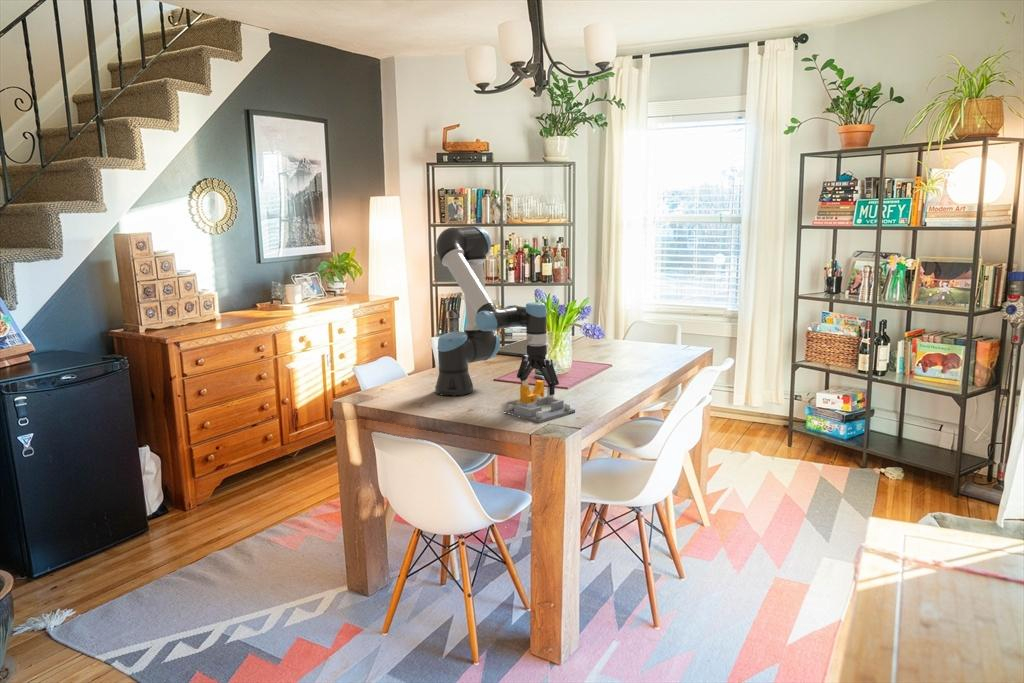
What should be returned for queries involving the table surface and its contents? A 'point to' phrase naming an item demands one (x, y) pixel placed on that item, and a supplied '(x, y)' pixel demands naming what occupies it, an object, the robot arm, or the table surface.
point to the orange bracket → (537, 392)
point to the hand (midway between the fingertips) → (537, 400)
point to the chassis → (540, 409)
